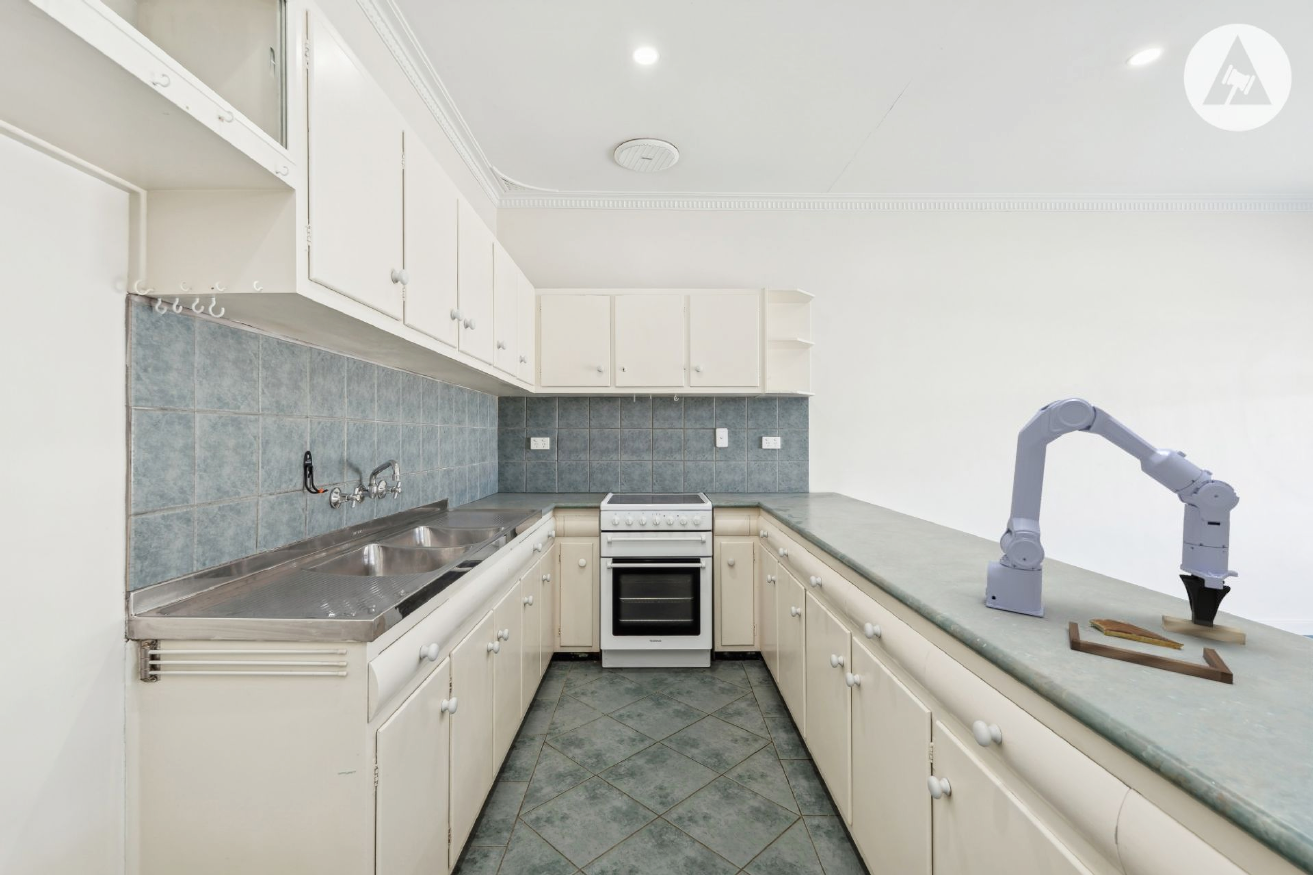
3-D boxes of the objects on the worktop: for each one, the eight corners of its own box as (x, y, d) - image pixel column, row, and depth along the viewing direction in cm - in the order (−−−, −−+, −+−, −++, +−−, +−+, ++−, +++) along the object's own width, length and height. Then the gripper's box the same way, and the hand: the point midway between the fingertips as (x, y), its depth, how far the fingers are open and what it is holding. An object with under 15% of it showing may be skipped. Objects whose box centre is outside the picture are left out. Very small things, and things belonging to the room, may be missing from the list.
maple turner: (1164, 630, 95) (1166, 593, 94) (1161, 625, 97) (1163, 589, 97) (1245, 645, 88) (1246, 605, 88) (1240, 639, 91) (1241, 600, 91)
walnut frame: (1070, 649, 86) (1071, 640, 86) (1068, 629, 94) (1069, 621, 94) (1232, 684, 74) (1233, 674, 74) (1213, 658, 83) (1214, 649, 83)
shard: (1184, 653, 86) (1184, 642, 86) (1141, 654, 85) (1142, 643, 85) (1121, 628, 97) (1121, 618, 97) (1083, 628, 96) (1083, 618, 96)
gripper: (1251, 555, 84) (1247, 636, 84) (1226, 540, 96) (1223, 612, 96) (1190, 548, 88) (1187, 626, 89) (1173, 535, 100) (1171, 603, 100)
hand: (1202, 618), depth 93 cm, fingers closed on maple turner, 2 cm apart
